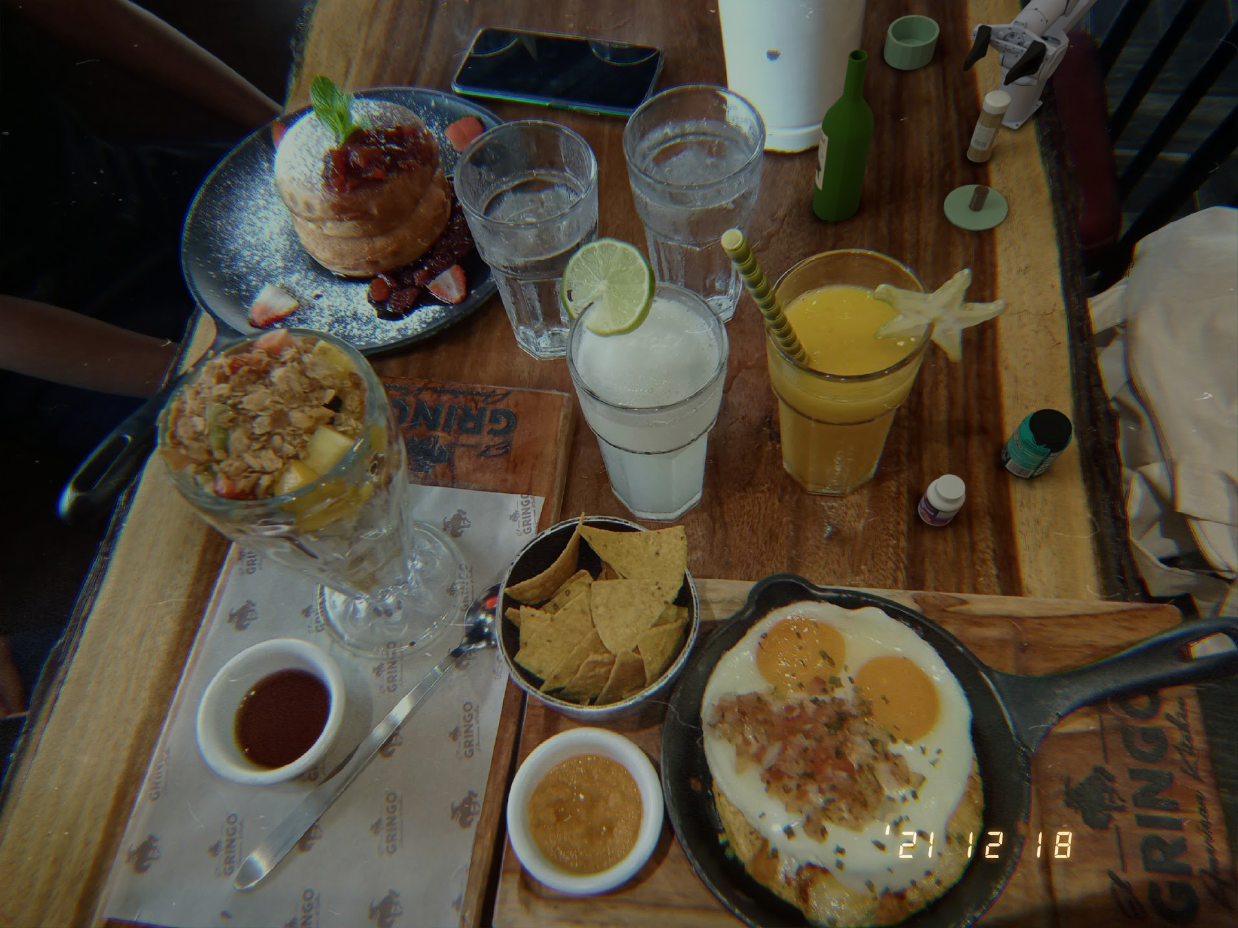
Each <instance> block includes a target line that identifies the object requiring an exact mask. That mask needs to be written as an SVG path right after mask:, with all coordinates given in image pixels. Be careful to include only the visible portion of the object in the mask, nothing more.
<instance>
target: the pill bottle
mask: <svg viewBox="0 0 1238 928" xmlns="http://www.w3.org/2000/svg"><path fill="white" fill-rule="evenodd" d="M965 500H966V485H965V482H964V481H963V479H962V478H960V477H959V476H958V475H955V474H944V475H942V476H940V477H939V478H937V479H935V480H933V481H932V482H931V483H929V485H928V487H927V489H926V491H925V492H924V494H923V496H922V497H921V499H920V501H919V503H918V507H917V510H918V514H919V516H920V518H921V520H923V522H925V523H926V524H928V525H930V526H933V527H942V526H945V525H948V524H949V523H950V522H951V521H952V520H953V519H954V517H955V516H956V515H957V513H958V512H959V510H960V509H961V508H962V506H963V505H964V503H965Z"/></svg>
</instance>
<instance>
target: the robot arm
mask: <svg viewBox="0 0 1238 928" xmlns="http://www.w3.org/2000/svg"><path fill="white" fill-rule="evenodd" d="M1097 1H1098V0H1030V2H1028V4H1027V5H1026V6H1025V7H1024V8H1023V9H1022V10H1021V11H1020V12H1019V13H1018V14H1017V15H1016V16H1015V18H1014V19H1012V21H1011V22H1010V23H1000V24H999V23H998V24H997V23H996V24H984V23H978V24H977V25H976V26H975V27H974V28H973V29H972V33H971V37H970V41H973V45H972V47H971V49H970V51H969V53H968V55H967V57H966V58H965V60H964V63H963V67H962V71H964V72H968V71H969V70H971V68H972V67H973V66H974V65H975V64H976V63H977V62H978V61H979V60H981V59H984V58H985V57H986V56H987V53H988V49H989V46H991V48H993V49H994V50H995V51H997V52H998V53H999V55H998V65H999V66H1000V67H1001V69H1000V73H1001V74H1002V76H1001V79H1000V82H999V85H998V87H997V90H1002V91H1005V92H1007V93H1009V94H1010V96H1011V103H1010V106H1009V108H1008V110H1007V111H1006V113H1005V116H1004V119H1003V122H1002V124H1001V126H1002V125H1003V126H1005V127H1007V128H1009V129H1012V130H1013V131H1016V130H1018V129H1019V128H1020V127H1021V126H1022V125H1023V124H1024V123H1025V122H1026V121H1027V120H1028V119H1029V118H1030V117H1031V116H1032V115H1033V114H1034V113H1035V112H1036V111H1037V110H1038V109H1039V108H1040V107H1041V106H1042V105H1043V101H1041V100H1040V98H1041V95H1042V93H1043V91H1044V88H1045V86H1046V83H1047V81H1048V79H1050V77H1051V76H1052V75H1053V74H1054V72H1055V71H1056V70H1057V68H1058V66H1059V64H1060V63H1061V62H1062V61H1063V59H1064V57H1065V55H1066V53H1067V50H1068V48H1069V43H1070V40H1069V37H1068V36H1067V34H1068V33H1069V32H1070V31H1071V30H1072V29H1073V27H1074V26H1075V25H1076V24H1077V23H1078V22H1079V21H1080V20H1081V19H1082V18H1083V17H1084V16H1085V14H1086V13H1087V12H1088V11H1089V10H1090V9H1091V8H1092V6H1094V5H1095V3H1096V2H1097Z"/></svg>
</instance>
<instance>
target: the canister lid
mask: <svg viewBox="0 0 1238 928" xmlns="http://www.w3.org/2000/svg"><path fill="white" fill-rule="evenodd" d="M1008 210H1009V205H1008V201H1007V200H1006V198H1005V196H1003V194H1002V193H1000V192H999V191H998V190H997V189H994V188H992V187H989V186H988V185H987V186H986V185H982V184H968V185H961V186H960V187H957V188H955V189H953V190H952V191H951V192H949V193H948V195H947V196H946V197H945V199H944V202H943V212H944V216H945V217H946V219H948V221H949V222H950V223H952V224H953V225H954V226H956V227H958V228H960V229H962V230H967V231H972V232H983V231H988V230H991V229H993V228H996V227H997V226H999V225H1000V224H1002V223H1003V222H1004V220H1005V219H1006V217H1007V215H1008Z"/></svg>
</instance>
